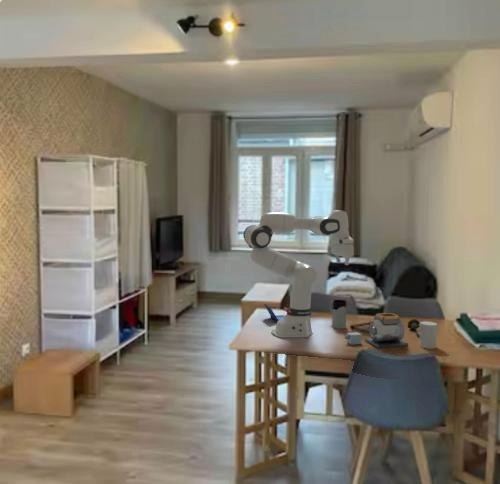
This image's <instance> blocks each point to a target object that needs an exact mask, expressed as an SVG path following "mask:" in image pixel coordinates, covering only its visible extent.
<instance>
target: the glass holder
mask: <svg viewBox="0 0 500 484" xmlns="http://www.w3.org/2000/svg"><path fill="white" fill-rule="evenodd" d="M329 311H330V314H331V316H332V320H331V326H330V327H331V328H334V329H347V325H346V324H347V301H346V300H345V299H334V300H330V302H329Z"/></svg>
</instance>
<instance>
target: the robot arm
mask: <svg viewBox="0 0 500 484" xmlns="http://www.w3.org/2000/svg"><path fill="white" fill-rule="evenodd" d="M296 230H304V231H305V230H308V231H310V232H313V233H314V234H317V235H323V236H330V235H332V240H331V242H330V243H331V244H330V253H331V254H332V255H334V257H335V260H336V263H338V264H341V263H342V262H341V259H340V257H344V265H345V266H349V265H350V264H349V263H350V259H351V258H353V257H354V256H355V255H354V254H355V251H354V250H355V249H354V241H355V240H354V239H353V237H351V236H350V232H349V217H348V214H347V211H345V210H339V209H334V210H332V212H330V213H329V214H328V215H325V216H321V215H316V216H314V217H310V218H304V217H296V215H294V214H292V213H288V212H281V211H280V212H278V211H274V212H265V213H263V214H262V215H261V218H260V221H259V224H258V225H256V224H253V225H249V226H247V227H246V228H245V229H244V231H243V239H244V241H245V242H246V244H247V245H248V247H249V248H250V249H252V250H251V254H250V258H251V260H252V262H254V263H255V264H256V265H258V266H260V267H261V268H263V269H265V270H268V271H271V272H272V273H275V274H276V275H277V274H278V275H279V276H282V277H285V278H287V279H288V280H292V281H293V287H292V290H291V292H290V297H289V299H290V300H289V301H290V302H289V307H288V308H287V307H284V308H283V311H284V312H286V314H285V315H284V317H282V318H281V319H280V320H278V322H277V323H276V324H275V329H271V334H272V335H273V334H274V335H273V336H276V337H277V336H278V337H277V338H308V337H309V336H312V335H313V329H312V324H311V317H312V308H311V301H312V300H311V299H312V297H311V296H312V290H313V287H314V284H315V282H316V280H317V278H318V273H317V270H316V269H315V268H314V267H313V266H312V265H310V264H308V263H305V262H302V261H299V260H297V259H295V258H293V257H290V256H289V255H287V254H284V253H282V252H279V251H278V250H276V249H274V248H270V247H269V245H270V243H271V241H272V237H273V234H274V233H276V234H290V233H294V232H295V231H296Z"/></svg>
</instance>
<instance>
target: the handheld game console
mask: <svg viewBox="0 0 500 484" xmlns="http://www.w3.org/2000/svg"><path fill="white" fill-rule="evenodd" d="M263 306H264V307H265V309H266V310H267V312H268V314H269V316H270V317H271V318H270V317H269V318H270V319H271V320H273V319H274V320H273V321H274V322H275V321H276V322H278V320H280V319H281V318H282V317H284V316H285V315H283V314H281V315H276V314H275V312H274V311H273V309H272V308H271V307H270V306H269V305H267V304H266V303H264V305H263ZM276 322H275V323H276Z"/></svg>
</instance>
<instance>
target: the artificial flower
mask: <svg viewBox="0 0 500 484" xmlns="http://www.w3.org/2000/svg"><path fill="white" fill-rule="evenodd" d="M407 328H408V329H409V330H411V331H415V335H416V337H420V329H419V328H420V321H419V320H418V319H417V318H416V319H413V318H412V319H410V320H409V321H408V323H407ZM418 329H419V330H418Z"/></svg>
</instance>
